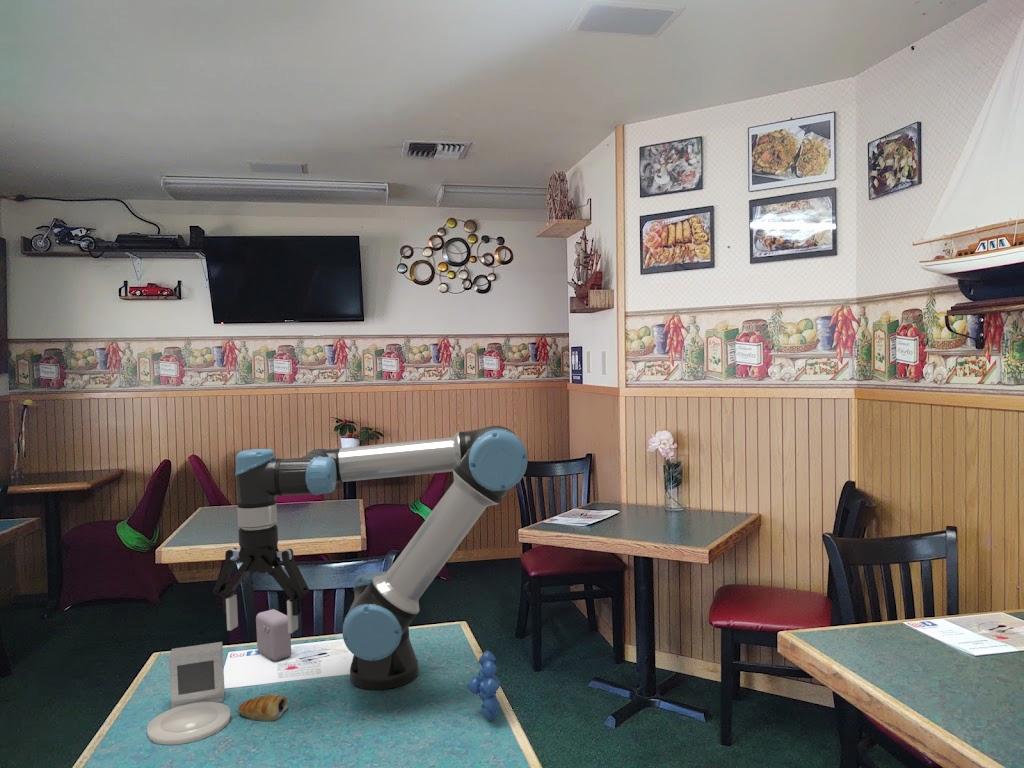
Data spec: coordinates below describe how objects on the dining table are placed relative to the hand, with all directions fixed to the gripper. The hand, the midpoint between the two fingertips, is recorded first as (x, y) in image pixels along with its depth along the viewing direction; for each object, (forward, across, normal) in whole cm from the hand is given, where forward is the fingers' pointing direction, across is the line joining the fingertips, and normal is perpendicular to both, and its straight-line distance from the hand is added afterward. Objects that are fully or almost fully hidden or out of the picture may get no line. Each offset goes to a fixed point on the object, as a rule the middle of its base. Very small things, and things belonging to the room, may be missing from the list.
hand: (262, 629), depth 151 cm
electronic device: (+17, +14, -27) cm, 35 cm away
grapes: (+17, -45, -4) cm, 48 cm away
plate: (+17, +12, +8) cm, 22 cm away
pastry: (+17, -1, +2) cm, 17 cm away
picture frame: (+17, +17, -2) cm, 24 cm away
